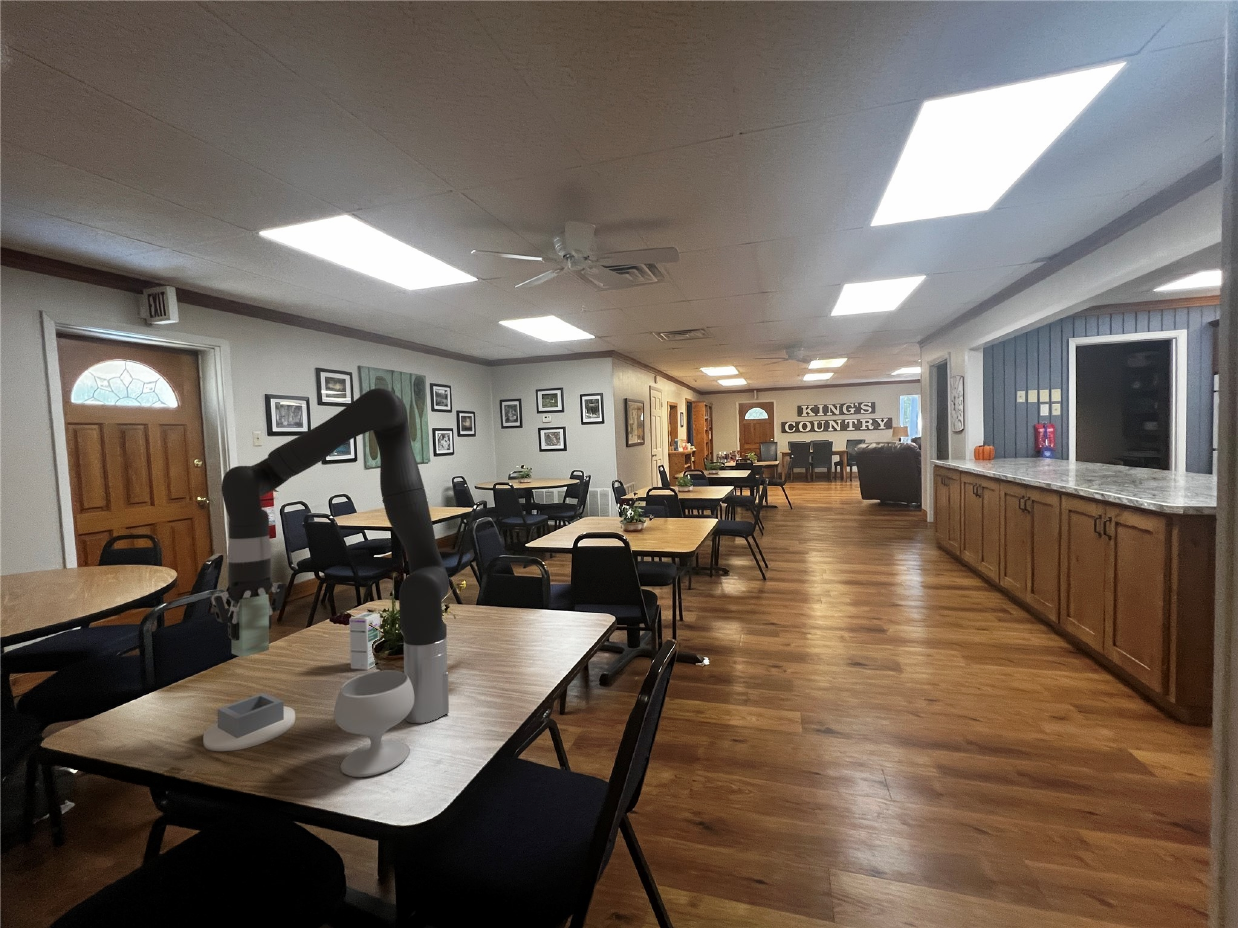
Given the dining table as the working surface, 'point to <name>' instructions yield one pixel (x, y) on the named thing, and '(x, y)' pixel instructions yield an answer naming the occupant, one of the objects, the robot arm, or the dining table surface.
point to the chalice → (374, 719)
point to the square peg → (252, 626)
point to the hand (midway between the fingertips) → (250, 635)
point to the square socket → (249, 723)
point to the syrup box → (363, 639)
